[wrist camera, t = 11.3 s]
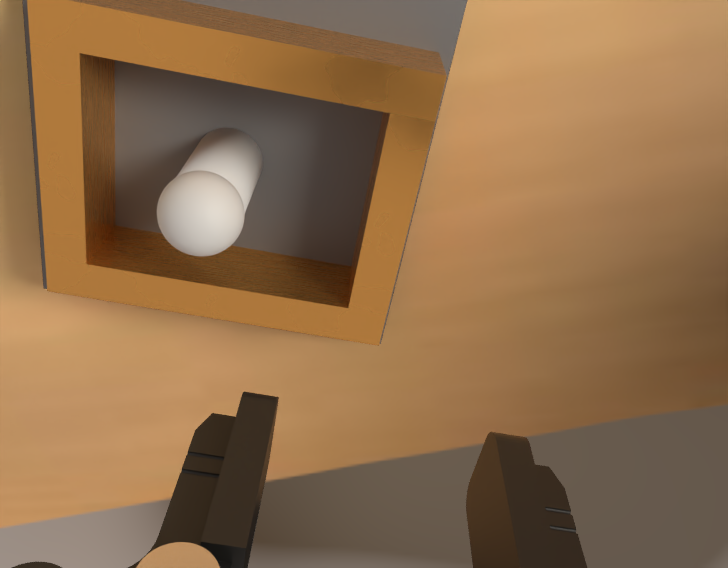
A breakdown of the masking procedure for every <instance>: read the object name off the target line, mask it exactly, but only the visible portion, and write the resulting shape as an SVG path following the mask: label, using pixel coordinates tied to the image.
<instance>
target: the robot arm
mask: <svg viewBox="0 0 728 568" xmlns="http://www.w3.org/2000/svg"><path fill="white" fill-rule="evenodd" d="M278 399H279V397H274V396H268V395H261V394H255V393H249V392H243V394H242V397H241V401H240V404H239V408H238V411H237V415H236V417H233V416H227V415H221V414H214V413H212V414H211V415H210V416H209V417H208V418H207V419H206V420H205V421H204V422H203V423H202V424H201V425H200V426H199V427H198V428H197V429H196V430H195V433H194V436H193V439H192V441H191V444H190V447H189V450H188V454H187V456H186V459H185V461H184V464H183V467H182V471H181V473H180V476H179V479H178V481H177V484H176V487H175V490H174V493H173V496H172V499H171V501H170V505H169V507H168V510H167V513H166V516H165V519H164V521H163V524H162V527H161V530H160V533H159V536H158V538H157V540H156V543H155V544H154V546H153V547H152V549H151V550H150V551H149V552H148V553H147V555H146V556H144V558H142V559H141V560H140V561H138V562H137V563H136V564H134V565H132V566H130V567H128V568H248V563H249V558H250V552H251V548H252V543H253V538H254V532H255V528H256V523H257V519H258V514H259V509H260V504H261V499H262V494H263V489H264V484H265V480H266V474H267V469H268V464H269V458H270V452H271V445H272V439H273V432H274V426H275V419H276V413H277V406H278ZM466 511H467V521H468V529H469V537H470V545H471V554H472V562H473V568H587V565H586V562H585V558H584V555H583V552H582V548H581V545H580V541H579V538H578V534H576V527H575V523H574V520H573V516H572V515H571V514H570V512H571V509H570V506H569V502H568V499H567V495H566V492H565V488H564V487H563V486H562V484H561V483H560V482H559V480H558V479H557V477H556V476H555V474H554V473H553V472H552V470H551V469H550V468H549V467H546V466H540V465H535V464H534V460H533V456H532V452H531V447H530V444H529V441H528V439H527V438H525V437H520V436H514V435H507V434H501V433H495V432H490V433H489V434H488V436H487V438H486V440H485V443H484V445H483V448H482V451H481V453H480V456H479V459H478V461H477V464H476V466H475V469H474V472H473V474H472V477H471V479H470V482H469V486H468V491H467V500H466ZM13 568H61V567H60V566H57V565H55V564H52V563H47V562H30V563H25V564H21V565H18V566H15V567H13Z"/></svg>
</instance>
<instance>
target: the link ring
mask: <svg viewBox="0 0 728 568" xmlns="http://www.w3.org/2000/svg"><path fill="white" fill-rule="evenodd" d="M27 7H28V21H29V35H30V50H31V64H32V78H33V93H34V107H35V121H36V135H37V150H38V164H39V178H40V193H41V207H42V221H43V236H44V250H45V264H46V278H47V291H50V292H56V293H63V294H69V295H75V296H81V297H87V298H93V299H99V300H105V301H111V302H117V303H123V304H129V305H135V306H141V307H148V308H154V309H160V310H166V311H172V312H178V313H184V314H190V315H196V316H202V317H208V318H214V319H220V320H227V321H233V322H239V323H245V324H251V325H257V326H263V327H269V328H275V329H281V330H287V331H293V332H299V333H306V334H312V335H318V336H324V337H330V338H336V339H342V340H348V341H354V342H360V343H366V344H372V345H378V346H379V343H380V340H381V336H382V332H383V328H384V324H385V320H386V316H387V312H388V308H389V304H390V300H391V296H392V292H393V288H394V284H395V280H396V276H397V272H398V268H399V264H400V260H401V256H402V252H403V248H404V244H405V240H406V236H407V232H408V228H409V224H410V220H411V216H412V212H413V208H414V205H415V201H416V197H417V193H418V189H419V185H420V181H421V177H422V173H423V169H424V165H425V161H426V157H427V153H428V149H429V145H430V141H431V137H432V133H433V129H434V125H435V121H436V117H437V113H438V109H439V105H440V101H441V97H442V93H443V89H444V85H445V81H446V77H447V75H446V72H445V69H444V66H443V63H442V60H441V57H440V54H439V52H434V51H429V50H424V49H419V48H414V47H409V46H404V45H399V44H394V43H389V42H384V41H380V40H375V39H370V38H365V37H360V36H355V35H350V34H345V33H340V32H335V31H330V30H325V29H320V28H315V27H311V26H306V25H301V24H296V23H291V22H286V21H281V20H276V19H271V18H266V17H261V16H256V15H251V14H246V13H241V12H237V11H232V10H227V9H222V8H217V7H212V6H207V5H202V4H197V3H192V2H187V1H182V0H27ZM115 60H118V61H123V62H129V63H134V64H139V65H144V66H149V67H154V68H160V69H165V70H170V71H175V72H180V73H185V74H190V75H196V76H201V77H206V78H211V79H216V80H221V81H227V82H232V83H237V84H242V85H247V86H252V87H258V88H263V89H268V90H273V91H278V92H283V93H288V94H294V95H299V96H304V97H309V98H314V99H319V100H325V101H330V102H335V103H340V104H345V105H350V106H355V107H361V108H366V109H371V110H376V111H381V112H383V116H382V121H381V126H380V131H379V136H378V140H377V145H376V150H375V155H374V160H373V164H372V169H371V174H370V179H369V184H368V188H367V193H366V198H365V203H364V208H363V212H362V217H361V222H360V227H359V232H358V236H357V241H356V246H355V251H354V256H353V260H352V265H351V266H347V265H341V264H335V263H329V262H324V261H318V260H312V259H306V258H301V257H295V256H289V255H283V254H278V253H272V252H266V251H260V250H255V249H249V248H243V247H237V246H232V245H231V246H230V247H228V248H227V249H226V250H224V251H222V252H220V253H218V254H215V255H211V256H193V255H189V254H186V253H183V252H181V251H179V250H178V249H176V248H175V247H173V246H172V245H171V244H170V243H169V242H168V241H167V240H166V238H165V237H164V235H163V234H162V233H157V232H151V231H145V230H140V229H134V228H128V227H122V226H117V225H116V224H115Z"/></svg>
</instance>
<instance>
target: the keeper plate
mask: <svg viewBox="0 0 728 568" xmlns="http://www.w3.org/2000/svg"><path fill="white" fill-rule="evenodd" d="M182 1H187V2H192V3H197V4H202V5H207V6H212V7H217V8H222V9H227V10H232V11H237V12H241V13H246V14H251V15H256V16H261V17H266V18H271V19H276V20H281V21H286V22H291V23H296V24H301V25H306V26H311V27H315V28H320V29H325V30H330V31H335V32H340V33H345V34H350V35H355V36H360V37H365V38H370V39H375V40H380V41H384V42H389V43H394V44H399V45H404V46H409V47H414V48H419V49H424V50H429V51H434V52H439V54H440V57H441V60H442V63H443V66H444V69H445V72H446V75H447V77H446V81H445V85H444V89H443V93H442V97H441V101H440V105H439V109H438V113H437V117H436V121H435V125H434V129H433V133H432V137H431V141H430V145H429V149H428V153H427V157H426V161H425V165H424V169H423V173H422V177H421V181H420V185H419V189H418V193H417V197H416V201H415V205H414V208H413V212H412V216H411V220H410V224H409V228H408V232H407V236H406V240H405V244H404V248H403V252H402V256H401V260H400V264H399V268H398V272H397V276H396V280H395V284H394V288H393V292H392V296H391V300H390V304H389V308H388V312H389V309H390V305H391V301H392V297H393V293H394V289H395V285H396V281H397V277H398V273H399V269H400V265H401V261H402V257H403V253H404V249H405V245H406V241H407V237H408V233H409V229H410V225H411V221H412V217H413V213H414V209H415V206H416V202H417V198H418V194H419V190H420V186H421V182H422V178H423V174H424V170H425V166H426V162H427V158H428V154H429V150H430V146H431V142H432V138H433V134H434V130H435V126H436V122H437V118H438V114H439V110H440V106H441V103H442V99H443V95H444V91H445V87H446V83H447V79H448V75H449V71H450V67H451V63H452V59H453V55H454V51H455V47H456V43H457V39H458V35H459V31H460V27H461V23H462V19H463V15H464V11H465V7H466V3H467V0H182ZM23 13H24V27H25V41H26V54H27V68H28V81H29V95H30V108H31V122H32V136H33V149H34V163H35V176H36V190H37V204H38V217H39V231H40V244H41V258H42V271H43V285H44V288H45V289H47V278H46V264H45V250H44V236H43V221H42V207H41V193H40V178H39V164H38V150H37V135H36V121H35V107H34V93H33V78H32V64H31V50H30V35H29V21H28V7H27V0H23ZM382 116H383V112H381V111H376V110H371V109H366V108H361V107H355V106H350V105H345V104H340V103H335V102H330V101H325V100H319V99H314V98H309V97H304V96H299V95H294V94H288V93H283V92H278V91H273V90H268V89H263V88H258V87H252V86H247V85H242V84H237V83H232V82H227V81H221V80H216V79H211V78H206V77H201V76H196V75H190V74H185V73H180V72H175V71H170V70H165V69H160V68H154V67H149V66H144V65H139V64H134V63H129V62H123V61H118V60H115V224H116V225H117V226H122V227H128V228H134V229H140V230H145V231H151V232H157V233H162V234H163V235H164V237H165V238H166V240H167V241H168V242H169V243H170V244H171V245H172V246H173V247H175V248H176V249H178V250H179V251H181V252H183V253H186V254H189V255H193V256H211V255H215V254H218V253H220V252H222V251H224V250H226V249H227V248H228V247H230V246H231V245H232V246H237V247H243V248H249V249H255V250H260V251H266V252H272V253H278V254H283V255H289V256H295V257H301V258H306V259H312V260H318V261H324V262H329V263H335V264H341V265H347V266H351V265H352V260H353V256H354V251H355V246H356V241H357V236H358V232H359V227H360V222H361V217H362V212H363V208H364V203H365V198H366V193H367V188H368V184H369V179H370V174H371V169H372V164H373V160H374V155H375V150H376V145H377V140H378V136H379V131H380V126H381V121H382ZM388 312H387V316H388ZM387 316H386V320H387ZM386 320H385V324H386ZM385 324H384V328H385ZM384 328H383V332H384ZM383 332H382V336H383ZM382 336H381V340H382ZM381 340H380V343H379V344H381Z"/></svg>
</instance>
